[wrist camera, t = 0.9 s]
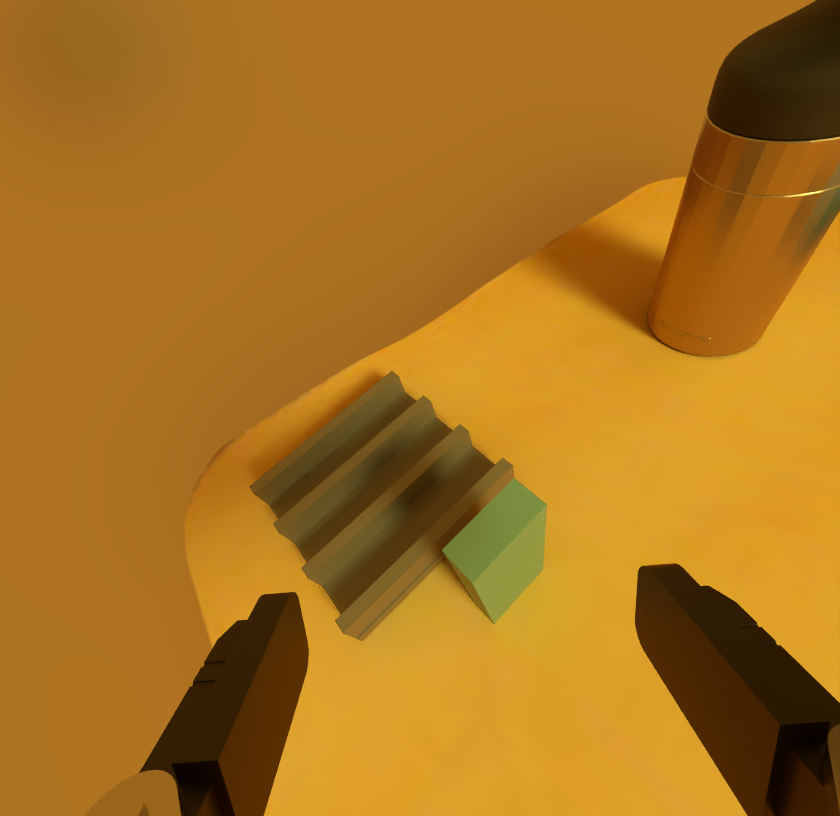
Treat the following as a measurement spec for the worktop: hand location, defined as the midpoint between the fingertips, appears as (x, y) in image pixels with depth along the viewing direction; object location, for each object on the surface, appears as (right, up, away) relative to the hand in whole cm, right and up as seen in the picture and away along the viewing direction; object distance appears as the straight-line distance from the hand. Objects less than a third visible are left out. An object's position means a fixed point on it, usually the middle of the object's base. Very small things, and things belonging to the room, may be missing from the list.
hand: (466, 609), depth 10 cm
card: (+5, -8, +19) cm, 21 cm away
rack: (-4, -3, +25) cm, 26 cm away
